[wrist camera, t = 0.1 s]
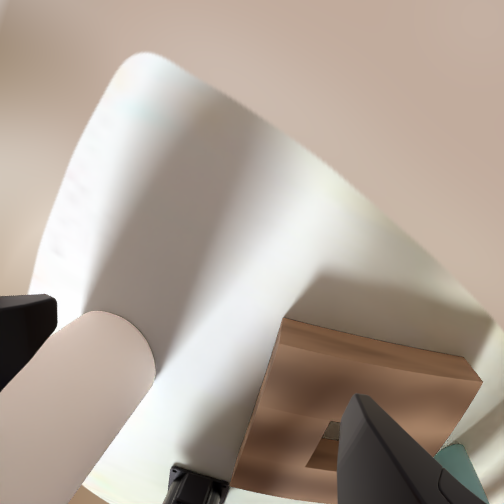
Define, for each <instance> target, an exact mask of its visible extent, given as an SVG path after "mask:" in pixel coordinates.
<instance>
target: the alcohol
mask: <svg viewBox="0 0 504 504" xmlns="http://www.w3.org/2000/svg"><path fill="white" fill-rule="evenodd" d="M155 373H156V370H155V362H154V358H153V355H152V351H151V348H150V346H149V344H148V342H147V341H146V339H145V338H144V336H143V335H142V334H141V332H140V331H139V330H138V329H137V328H136V327H135V326H134V325H132V324H131V323H130V322H129V321H127V320H125V319H124V318H122V317H120V316H117V315H115V314H112V313H109V312H104V311H90V312H87V313H85V314H83V315H82V316H80V317H79V318H77V319H76V320H74V321H73V322H71V323H70V324H68V325H67V326H65V327H64V328H62V329H61V330H59V331H58V332H56V333H55V334H53V335H52V336H50V337H49V338H48V339H47V340H46V341H45V343H44V344H43V345H42V346H41V348H40V349H39V350H38V351H37V353H36V354H35V355H34V356H33V358H32V359H31V360H30V361H29V362H28V363H27V364H26V366H25V367H24V368H23V369H22V370H21V371H20V372H19V373H18V374H17V375H16V376H15V377H14V378H13V379H12V380H11V381H10V382H9V383H8V385H7V386H6V387H5V388H4V389H3V390H2V391H1V392H0V504H68V502H69V501H70V500H71V498H72V497H73V496H74V494H75V493H76V491H77V490H78V488H79V487H80V486H81V484H82V483H83V482H84V480H85V479H86V477H87V476H88V475H89V473H90V472H91V470H92V469H93V468H94V466H95V465H96V463H97V462H98V461H99V459H100V458H101V457H102V455H103V454H104V452H105V451H106V450H107V448H108V447H109V445H110V444H111V443H112V441H113V440H114V438H115V437H116V436H117V434H118V433H119V431H120V430H121V429H122V427H123V426H124V424H125V423H126V422H127V420H128V419H129V418H130V416H131V415H132V413H133V412H134V411H135V409H136V408H137V406H138V405H139V404H140V402H141V401H142V399H143V398H144V397H145V395H146V394H147V393H148V391H149V390H150V388H151V387H152V385H153V383H154V380H155Z"/></svg>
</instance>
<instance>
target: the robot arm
mask: <svg viewBox="0 0 504 504" xmlns="http://www.w3.org/2000/svg"><path fill="white" fill-rule="evenodd" d="M56 327H57V301H56V299H55V298H53V297H51V296H49V295H46V294H38V295H19V296H0V392H1V391H2V390H3V389H4V388H5V387H6V386H7V385H8V383H9V382H10V381H11V380H12V379H13V378H14V377H15V376H16V375H17V374H18V373H19V372H20V371H21V370H22V369H23V368H24V367H25V366H26V364H27V363H28V362H29V361H30V360H31V359H32V358H33V356H34V355H35V354H36V353H37V351H38V350H39V349H40V348H41V346H42V345H43V344H44V343H45V341H46V340H47V339H48V338H49V336H50V335H51V334H52V333H53V332H54V330H55V329H56ZM228 488H229V483H228V482H225V481H221V480H218V479H214V478H211V477H207V476H204V475H201V474H197V473H194V472H191V471H188V470H185V469H182V468H179V467H176V466H172V467H171V469H170V477H169V485H168V493H167V495H166V497H165V500H164V502H163V504H222V503H223V501H224V498H225V496H226V493H227V491H228ZM337 504H487V503H485V502H484V501H483V500H481V499H480V498H479V497H477V496H476V495H475V494H474V493H472V492H471V491H470V490H468V489H467V488H466V487H465V486H464V485H462V484H461V483H460V482H459V481H458V480H457V479H456V478H455V477H453V476H452V475H451V474H450V473H449V472H448V471H447V470H446V469H445V468H442V465H441V464H440V463H439V462H438V461H436V460H435V459H434V458H433V457H432V456H431V455H430V454H429V453H428V452H427V451H426V450H425V449H424V448H423V447H422V446H421V445H420V444H419V443H418V442H417V441H415V440H414V439H413V438H412V437H411V436H410V435H409V434H408V433H407V432H406V431H405V430H404V429H403V428H402V427H401V426H400V425H399V424H398V423H397V422H396V421H395V420H394V419H393V418H392V417H391V416H390V415H389V414H387V413H386V412H385V411H384V410H383V409H382V408H381V407H380V406H379V405H378V404H377V403H376V402H375V401H374V400H373V399H372V398H371V397H370V396H369V395H365V394H359V393H355V394H354V395H353V396H352V397H351V399H350V401H349V403H348V405H347V407H346V409H345V411H344V413H343V415H342V418H341V422H340V435H339V447H338V458H337Z"/></svg>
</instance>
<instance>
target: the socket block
mask: <svg viewBox="0 0 504 504" xmlns="http://www.w3.org/2000/svg"><path fill="white" fill-rule="evenodd" d="M482 383H483V381H482V380H481V379H480V377H479V376H478V375H477V373H476V372H475V371H474V370H473V368H472V367H471V366H470V364H469V363H468V362H467V361H466V359H465V358H464V357H460V356H454V355H449V354H443V353H438V352H433V351H428V350H423V349H417V348H412V347H408V346H403V345H398V344H393V343H388V342H384V341H379V340H375V339H370V338H366V337H361V336H357V335H352V334H348V333H344V332H340V331H335V330H331V329H327V328H323V327H319V326H315V325H311V324H307V323H303V322H299V321H295V320H291V319H287V318H283V319H282V322H281V326H280V329H279V332H278V335H277V339H276V342H275V345H274V348H273V352H272V355H271V358H270V361H269V364H268V367H267V370H266V374H265V377H264V380H263V383H262V386H261V389H260V392H259V395H258V398H257V401H256V404H255V407H254V410H253V413H252V416H251V419H250V422H249V425H248V428H247V430H246V433H245V436H244V439H243V442H242V445H241V447H240V450H239V453H238V456H237V459H236V463H235V467H234V471H233V474H232V478H231V482H230V485H229V486H231V487H235V488H239V489H243V490H247V491H252V492H256V493H261V494H266V495H271V496H277V497H282V498H288V499H294V500H301V501H309V502H317V503H326V504H337V458H338V447H339V441H337V440H330V439H324V438H322V436H323V434H324V432H325V430H326V429H327V427H328V425H329V423H330V421H334V422H341V418H342V415H343V413H344V411H345V409H346V407H347V405H348V403H349V401H350V399H351V397H352V396H353V395H354V394H355V393H359V394H365V395H369V396H370V397H371V398H372V399H373V400H374V401H375V402H376V403H377V404H378V405H379V406H380V407H381V408H382V409H383V410H384V411H385V412H386V413H387V414H389V415H390V416H391V417H392V418H393V419H394V420H395V421H396V422H397V423H398V424H399V425H400V426H401V427H402V428H403V429H404V430H405V431H406V432H407V433H408V434H409V435H410V436H411V437H412V438H413V439H414V440H415V441H417V442H418V443H419V444H420V445H421V446H422V447H423V448H424V449H425V450H426V451H427V452H428V453H429V454H430V455H431V456H432V457H434V456H435V454H436V453H437V452H438V451H439V449H440V448H441V447H442V445H443V444H444V442H445V441H446V440H447V438H448V437H449V435H450V434H451V433H452V431H453V430H454V428H455V427H456V425H457V424H458V422H459V421H460V419H461V418H462V416H463V415H464V413H465V412H466V410H467V408H468V407H469V405H470V404H471V402H472V400H473V399H474V397H475V395H476V394H477V392H478V390H479V389H480V387H481V385H482Z"/></svg>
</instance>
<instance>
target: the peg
mask: <svg viewBox="0 0 504 504" xmlns="http://www.w3.org/2000/svg"><path fill="white" fill-rule="evenodd" d="M434 459H435V460H436V461H438V462H439V463H440V464H441V465H442V468H445V469H446V470H447V471H448V472H449V473H450V474H451V475H452V476H453V477H455V478H456V479H457V480H458V481H459V482H460V483H461V484H462V485H464V486H465V487H466V488H467V489H468V490H470V491H471V492H472V493H474V494H475V495H476V496H477V497H479V498H480V499H481V500H483V501H484V502H485V503H487V504H489V502H488V499H487V497H486V495H485V492H484V490H483V488H482V485H481V483H480V481H479V478H478V476H477V474H476V472H475V470H474V467H473V465H472V463H471V461H470V459H469V457H468V455H467V452H466V450H465V448H464V446H463V445H461V444H454V445H451V446H448V447H446V448H444V449H442V450H441V451H440V452H438V453H437V454H436V455H435V456H434Z"/></svg>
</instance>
